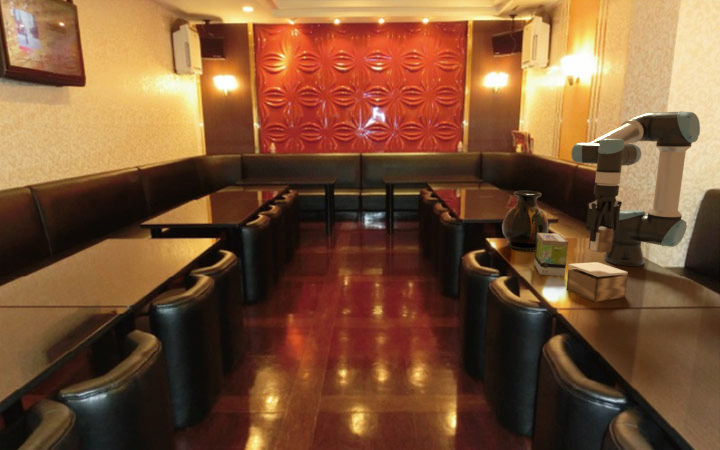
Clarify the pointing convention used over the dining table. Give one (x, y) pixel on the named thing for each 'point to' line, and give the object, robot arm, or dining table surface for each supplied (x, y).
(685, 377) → the dining table surface
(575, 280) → the crate
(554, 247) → the tea box
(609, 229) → the walnut block
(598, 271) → the lid
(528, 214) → the dark glossy vase
